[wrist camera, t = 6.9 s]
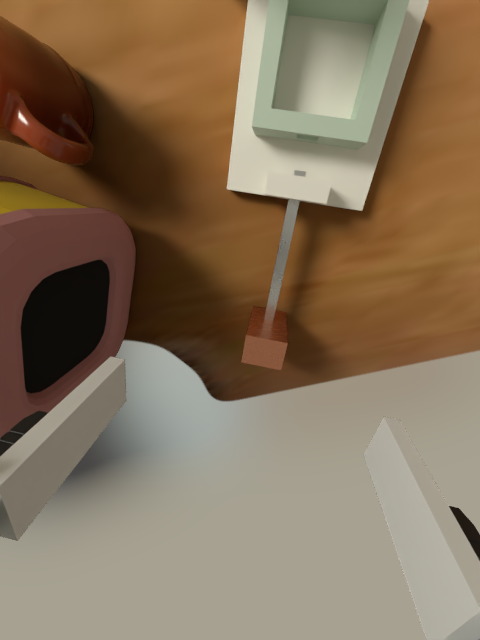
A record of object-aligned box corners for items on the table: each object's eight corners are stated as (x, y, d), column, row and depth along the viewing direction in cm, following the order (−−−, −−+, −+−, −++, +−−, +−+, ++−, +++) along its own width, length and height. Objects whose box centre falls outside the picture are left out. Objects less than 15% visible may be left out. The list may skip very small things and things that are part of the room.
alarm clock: (127, 356, 34) (-31, 514, 17) (49, 329, 34) (-192, 459, 17) (147, 212, 27) (-109, 225, 9) (46, 177, 27) (-409, 122, 9)
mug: (5, 118, 25) (-159, 66, 16) (36, 17, 21) (-149, -126, 12) (109, 207, 27) (20, 209, 18) (153, 128, 24) (71, 77, 14)
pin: (318, 178, 23) (333, 167, 16) (280, 334, 29) (280, 370, 23) (277, 171, 23) (277, 158, 17) (249, 328, 30) (241, 362, 23)
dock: (418, 13, 18) (455, -38, 15) (357, 210, 24) (372, 211, 20) (252, -5, 19) (245, -58, 15) (229, 190, 25) (220, 187, 21)
